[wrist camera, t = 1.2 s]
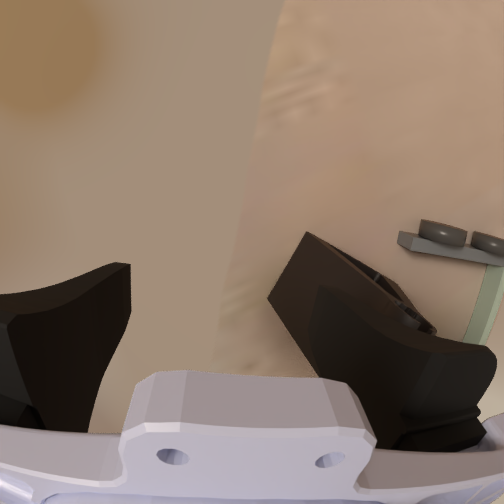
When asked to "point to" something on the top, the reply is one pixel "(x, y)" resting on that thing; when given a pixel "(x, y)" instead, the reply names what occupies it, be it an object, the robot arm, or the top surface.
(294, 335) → the phone stand
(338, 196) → the top surface
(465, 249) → the chassis bay
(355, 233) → the top surface
